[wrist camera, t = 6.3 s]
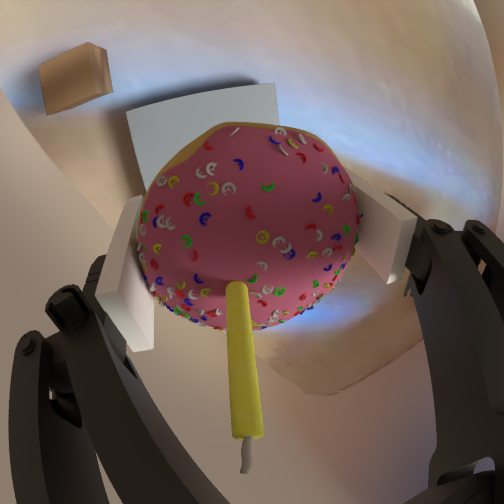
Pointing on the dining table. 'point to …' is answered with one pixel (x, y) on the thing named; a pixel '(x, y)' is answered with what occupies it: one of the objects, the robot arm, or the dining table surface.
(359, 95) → the dining table surface
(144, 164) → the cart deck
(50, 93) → the walnut block
